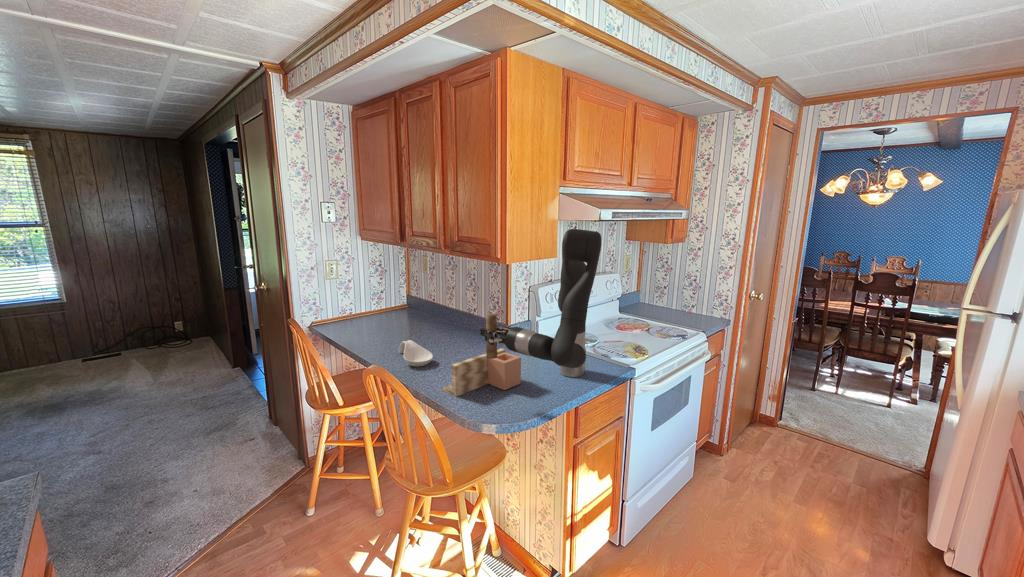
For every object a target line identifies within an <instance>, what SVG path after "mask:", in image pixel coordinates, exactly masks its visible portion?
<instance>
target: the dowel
mask: <svg viewBox="0 0 1024 577" xmlns="http://www.w3.org/2000/svg"><path fill="white" fill-rule="evenodd" d="M497 328H498V315H497V314H496V313H494V314H493V313H489V314H486V315H485V329H486V330H490V331H495V330H497ZM491 335H492V336H493V334H491ZM485 342H486V341H485ZM485 346H486V347H485V348H486V352H485V353H486V355H487V358H489V359H494V358H497V350H498V342H494V345H490V344H489V343H488V342H486V345H485Z"/></svg>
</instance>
